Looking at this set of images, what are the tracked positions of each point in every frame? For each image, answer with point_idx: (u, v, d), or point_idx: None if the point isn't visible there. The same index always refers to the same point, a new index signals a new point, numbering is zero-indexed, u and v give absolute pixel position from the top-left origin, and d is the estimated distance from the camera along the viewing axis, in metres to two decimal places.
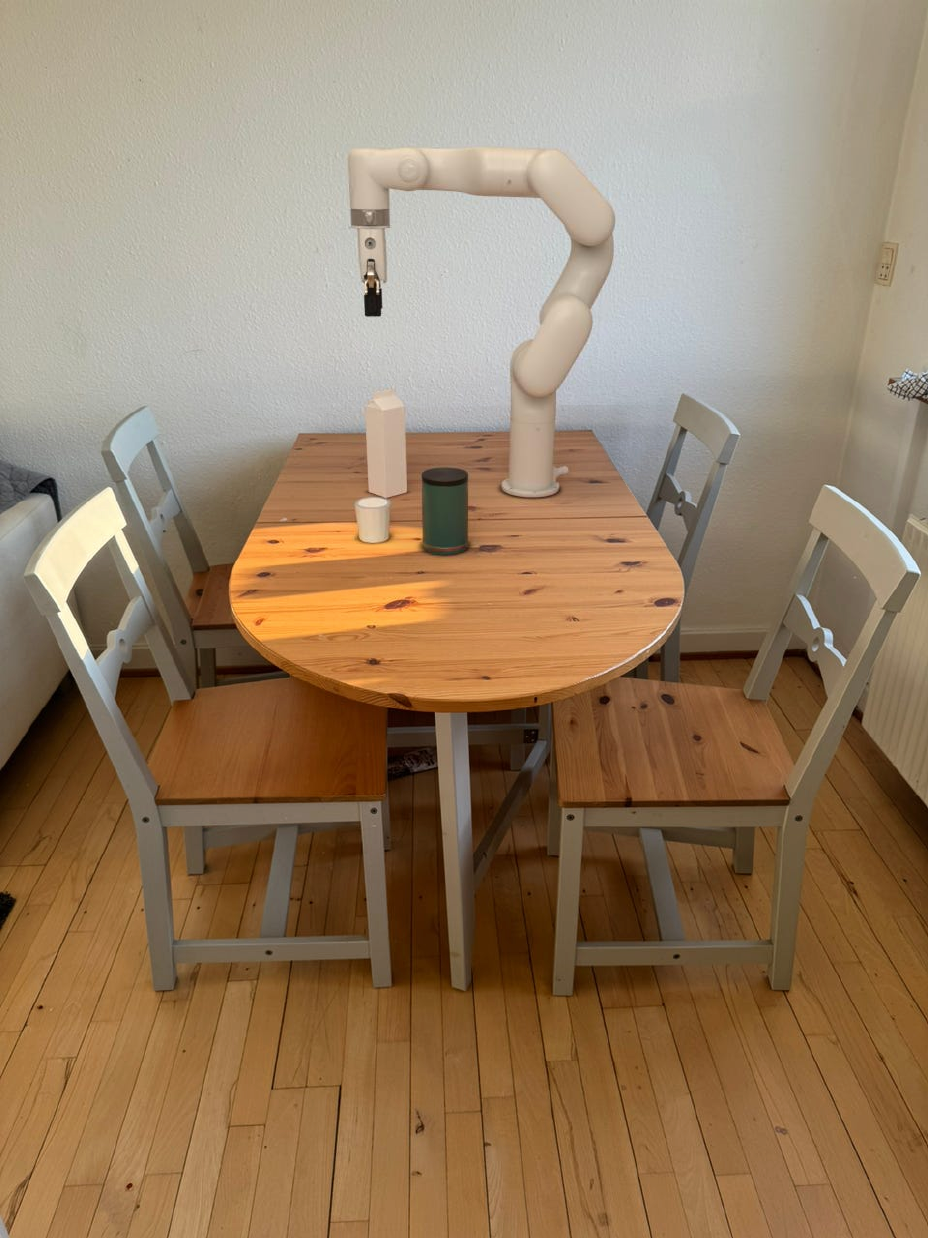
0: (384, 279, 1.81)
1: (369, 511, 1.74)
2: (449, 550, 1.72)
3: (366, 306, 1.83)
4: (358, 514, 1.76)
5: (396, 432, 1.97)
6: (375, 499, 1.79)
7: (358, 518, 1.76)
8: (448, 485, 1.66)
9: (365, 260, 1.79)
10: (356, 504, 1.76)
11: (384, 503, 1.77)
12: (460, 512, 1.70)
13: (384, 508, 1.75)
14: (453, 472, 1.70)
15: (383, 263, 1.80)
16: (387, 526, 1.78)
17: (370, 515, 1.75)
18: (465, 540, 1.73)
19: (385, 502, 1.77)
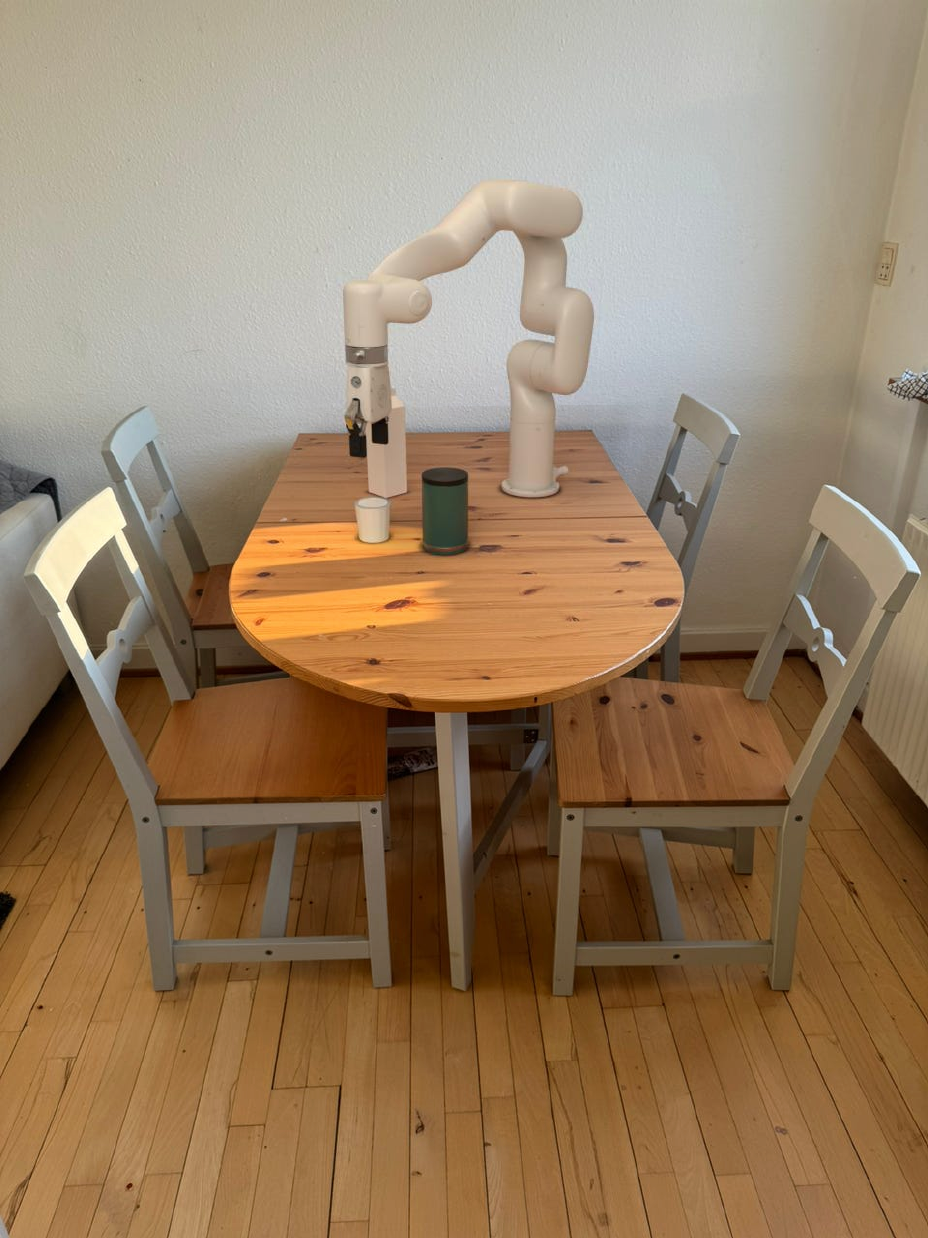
0: (370, 420, 1.66)
1: (369, 511, 1.74)
2: (449, 550, 1.72)
3: (351, 446, 1.69)
4: (358, 514, 1.76)
5: (396, 432, 1.97)
6: (375, 499, 1.79)
7: (358, 518, 1.76)
8: (448, 485, 1.66)
9: (350, 399, 1.65)
10: (356, 504, 1.76)
11: (384, 503, 1.77)
12: (460, 512, 1.70)
13: (384, 508, 1.75)
14: (453, 472, 1.70)
15: (368, 404, 1.65)
16: (387, 526, 1.78)
17: (370, 515, 1.75)
18: (465, 540, 1.73)
19: (385, 502, 1.77)
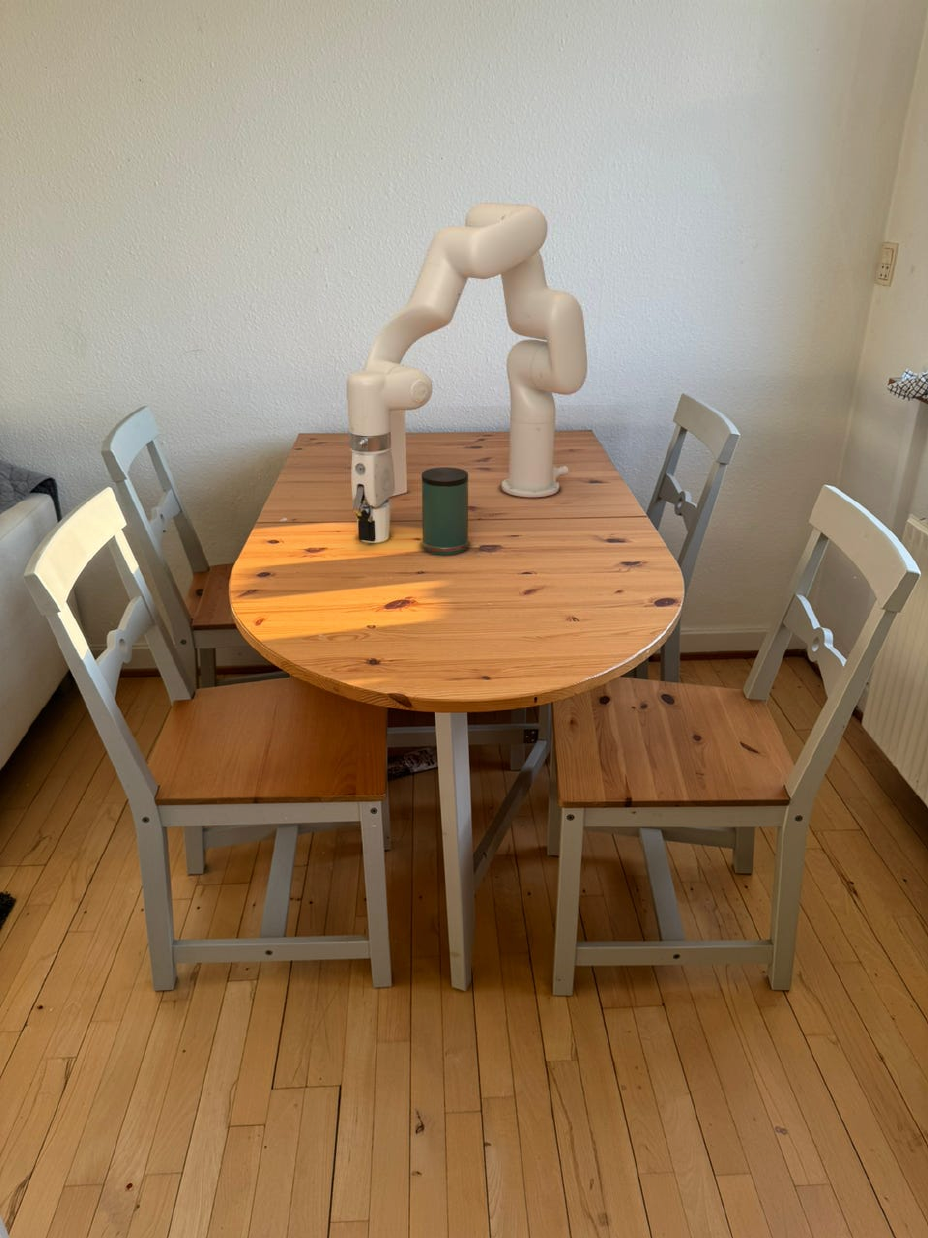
0: (374, 504, 1.72)
1: None
2: (449, 550, 1.72)
3: (360, 530, 1.76)
4: None
5: (396, 432, 1.97)
6: None
7: None
8: (448, 485, 1.66)
9: (355, 485, 1.71)
10: None
11: (384, 503, 1.77)
12: (460, 512, 1.70)
13: (384, 508, 1.75)
14: (453, 472, 1.70)
15: (373, 489, 1.70)
16: (387, 526, 1.78)
17: None
18: (465, 540, 1.73)
19: (385, 502, 1.77)
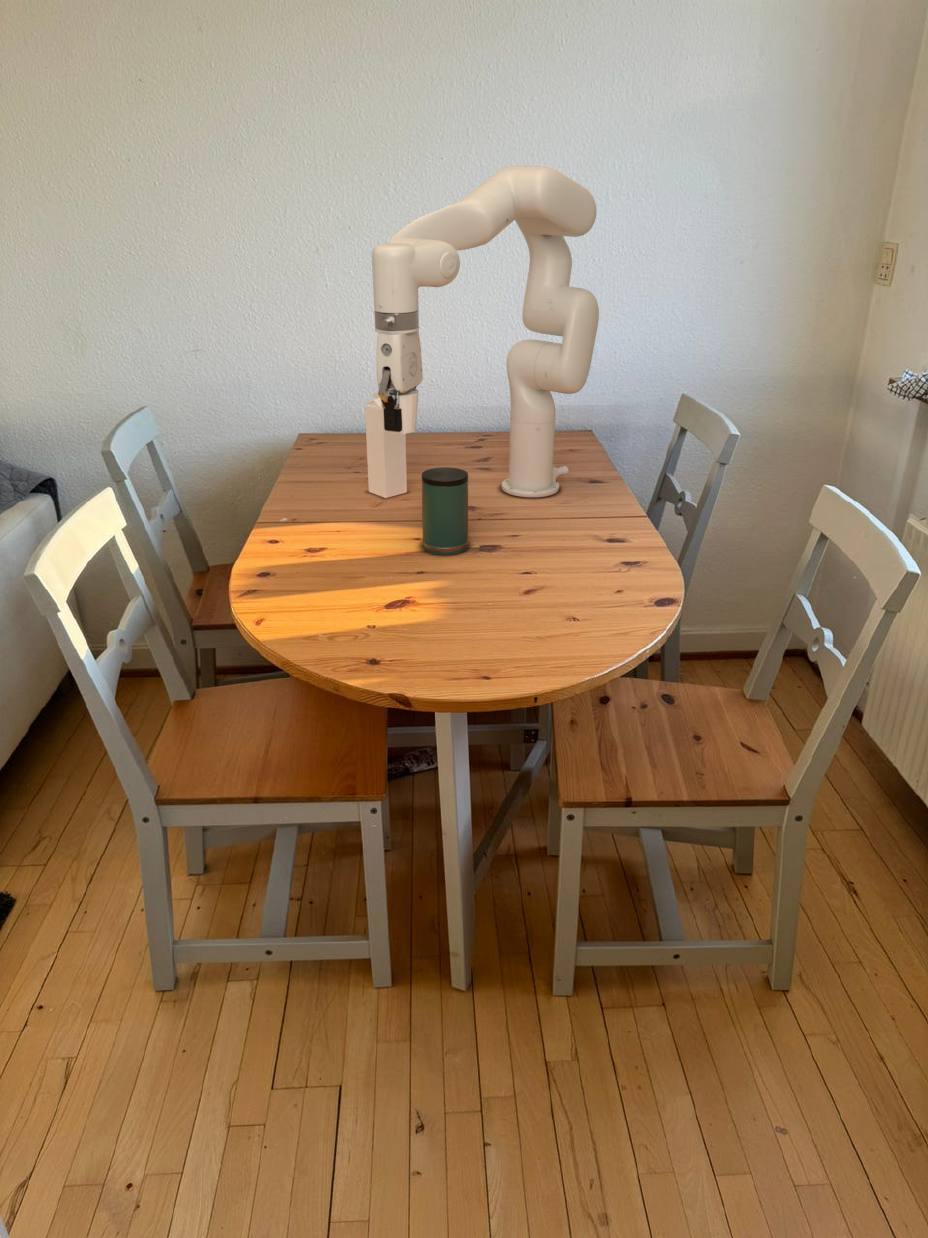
0: (401, 389, 1.61)
1: None
2: (449, 550, 1.72)
3: (386, 420, 1.65)
4: None
5: None
6: None
7: None
8: (448, 485, 1.66)
9: (381, 367, 1.60)
10: None
11: (411, 391, 1.66)
12: (460, 512, 1.70)
13: (411, 395, 1.64)
14: (453, 472, 1.70)
15: (399, 372, 1.59)
16: (414, 416, 1.67)
17: None
18: (465, 540, 1.73)
19: (412, 390, 1.66)
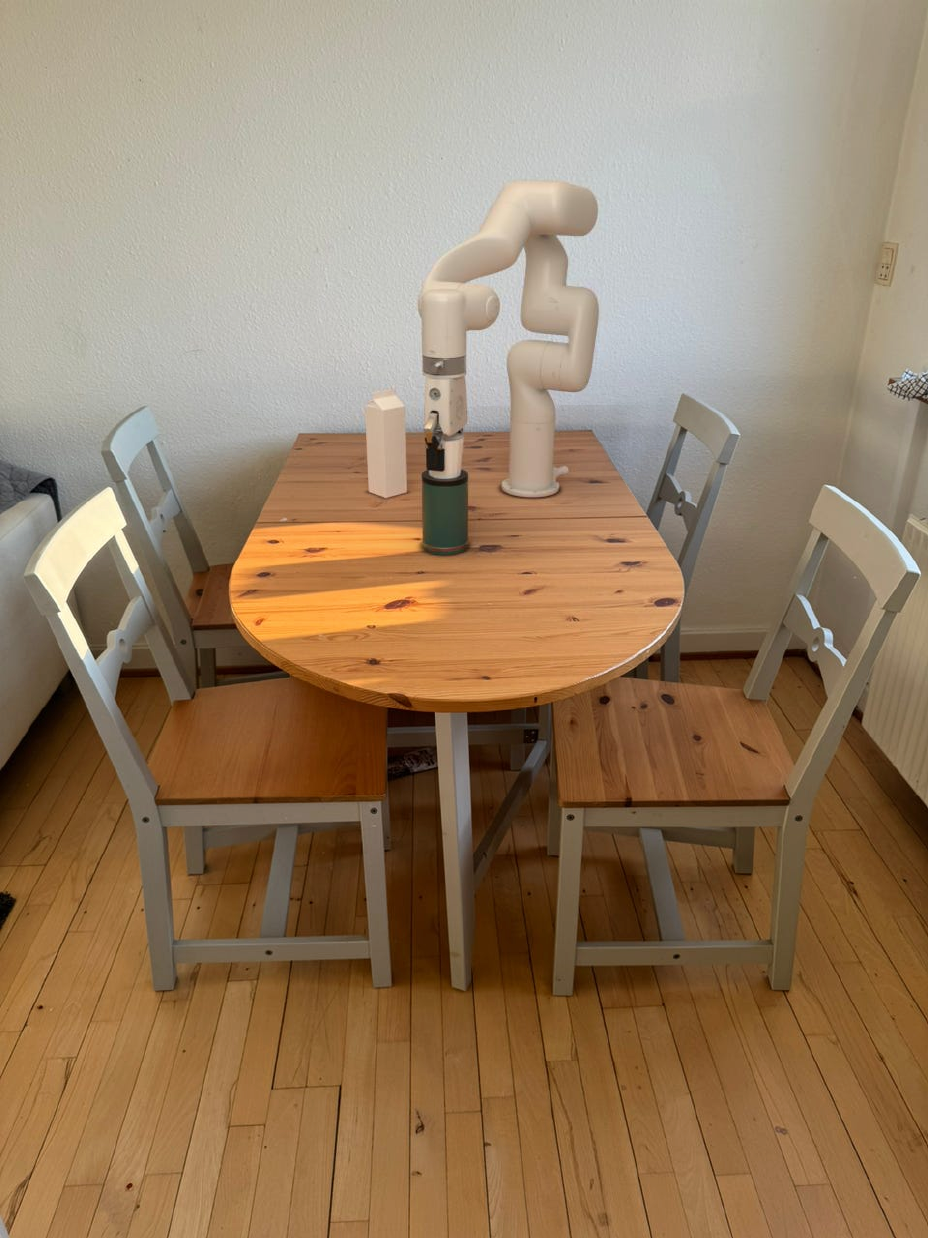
0: (448, 433, 1.61)
1: None
2: (449, 550, 1.72)
3: (428, 459, 1.64)
4: None
5: (396, 432, 1.97)
6: None
7: None
8: (448, 485, 1.66)
9: (428, 411, 1.60)
10: None
11: (457, 436, 1.66)
12: (460, 512, 1.70)
13: (458, 441, 1.65)
14: None
15: (448, 416, 1.60)
16: (460, 461, 1.67)
17: (443, 448, 1.64)
18: (465, 540, 1.73)
19: (458, 435, 1.67)
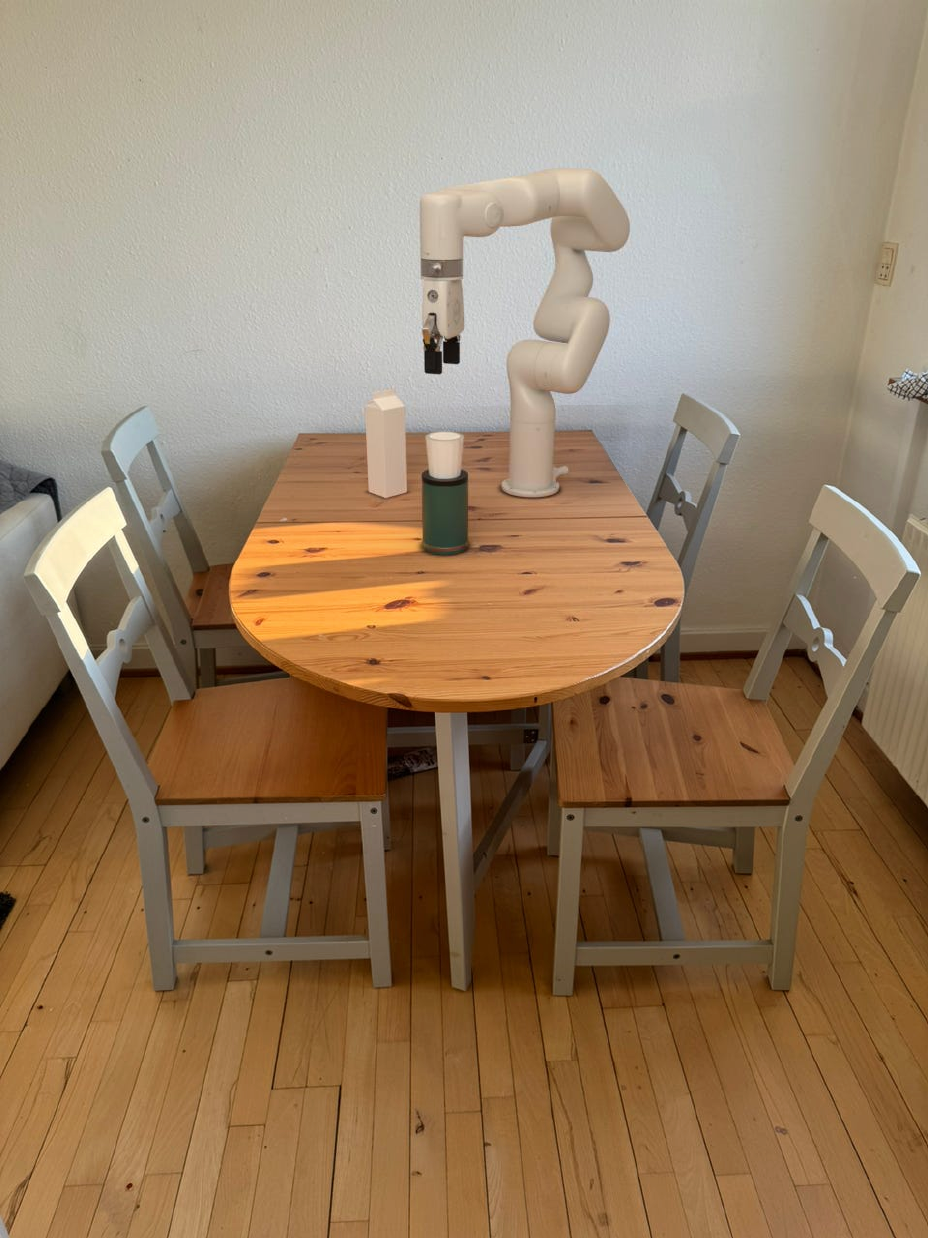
0: (446, 335, 1.66)
1: (442, 444, 1.64)
2: (449, 550, 1.72)
3: (426, 362, 1.69)
4: (430, 448, 1.66)
5: (396, 432, 1.97)
6: (447, 433, 1.68)
7: (429, 452, 1.66)
8: (448, 485, 1.66)
9: (426, 314, 1.65)
10: (427, 437, 1.66)
11: (457, 436, 1.66)
12: (460, 512, 1.70)
13: (458, 441, 1.65)
14: None
15: (445, 318, 1.64)
16: (460, 461, 1.67)
17: (443, 448, 1.64)
18: (465, 540, 1.73)
19: (458, 435, 1.67)
